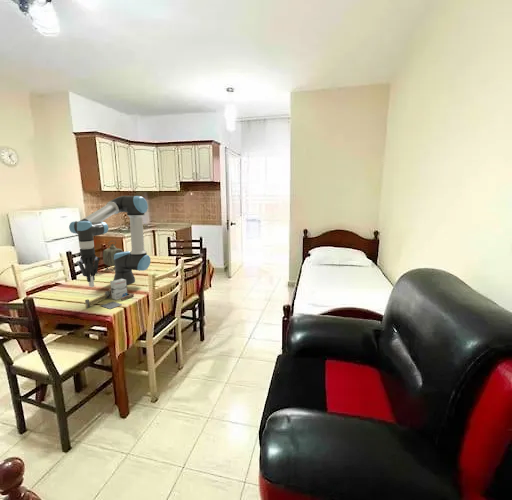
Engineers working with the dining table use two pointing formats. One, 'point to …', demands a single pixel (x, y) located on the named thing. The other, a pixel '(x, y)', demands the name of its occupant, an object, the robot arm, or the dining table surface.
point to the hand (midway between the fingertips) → (91, 286)
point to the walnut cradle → (122, 297)
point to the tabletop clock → (110, 255)
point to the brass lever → (97, 299)
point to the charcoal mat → (111, 305)
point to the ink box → (118, 288)
